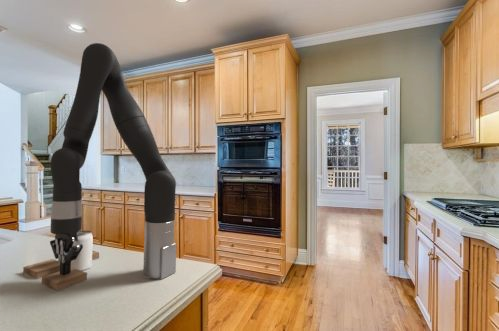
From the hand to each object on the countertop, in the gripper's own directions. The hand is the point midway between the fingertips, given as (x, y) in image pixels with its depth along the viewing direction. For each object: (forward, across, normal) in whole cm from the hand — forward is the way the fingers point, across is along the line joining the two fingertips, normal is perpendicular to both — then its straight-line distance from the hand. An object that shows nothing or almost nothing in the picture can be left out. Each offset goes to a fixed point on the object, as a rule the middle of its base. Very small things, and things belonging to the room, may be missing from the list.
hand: (65, 274), depth 75 cm
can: (+2, +6, -8) cm, 10 cm away
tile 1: (+2, 0, 0) cm, 2 cm away
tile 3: (+2, +14, -13) cm, 19 cm away
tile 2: (+2, +13, -1) cm, 13 cm away
